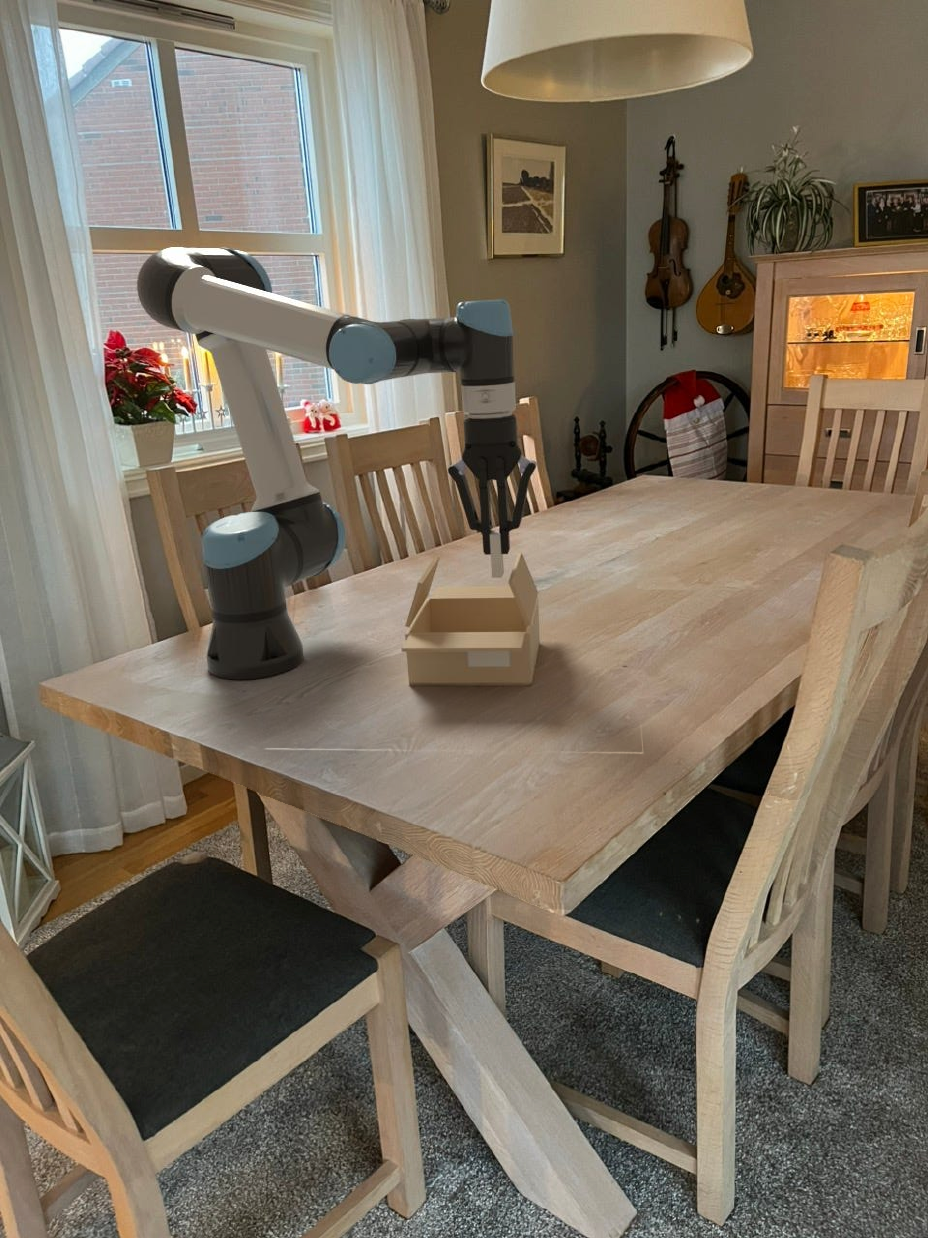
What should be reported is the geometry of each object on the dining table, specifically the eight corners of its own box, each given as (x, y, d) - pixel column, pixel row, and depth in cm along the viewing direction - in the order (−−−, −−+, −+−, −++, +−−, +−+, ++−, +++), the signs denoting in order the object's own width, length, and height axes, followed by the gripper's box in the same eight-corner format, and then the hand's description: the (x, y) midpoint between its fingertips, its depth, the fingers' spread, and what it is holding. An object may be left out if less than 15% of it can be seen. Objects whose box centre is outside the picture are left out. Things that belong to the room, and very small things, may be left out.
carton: (400, 701, 137) (396, 648, 134) (436, 632, 165) (433, 587, 162) (528, 702, 134) (526, 647, 132) (542, 631, 162) (540, 585, 160)
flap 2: (526, 626, 138) (508, 582, 136) (534, 593, 153) (518, 553, 151) (530, 625, 138) (512, 580, 136) (538, 592, 153) (521, 552, 151)
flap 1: (405, 626, 141) (418, 582, 138) (424, 594, 156) (436, 554, 153) (409, 627, 141) (422, 583, 138) (428, 595, 156) (440, 555, 153)
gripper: (439, 419, 135) (450, 583, 142) (533, 415, 133) (540, 581, 140) (448, 413, 142) (458, 569, 149) (537, 409, 140) (543, 567, 147)
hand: (498, 575), depth 144 cm, fingers closed
